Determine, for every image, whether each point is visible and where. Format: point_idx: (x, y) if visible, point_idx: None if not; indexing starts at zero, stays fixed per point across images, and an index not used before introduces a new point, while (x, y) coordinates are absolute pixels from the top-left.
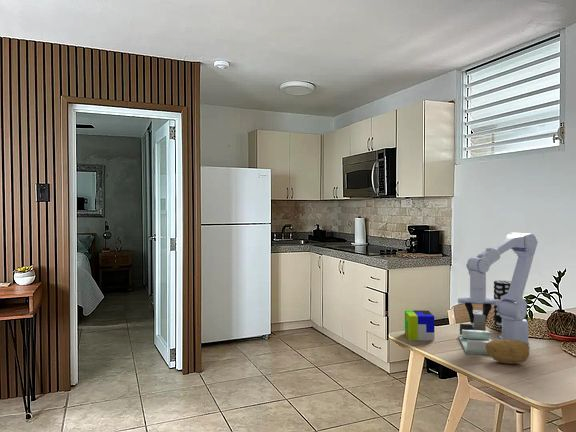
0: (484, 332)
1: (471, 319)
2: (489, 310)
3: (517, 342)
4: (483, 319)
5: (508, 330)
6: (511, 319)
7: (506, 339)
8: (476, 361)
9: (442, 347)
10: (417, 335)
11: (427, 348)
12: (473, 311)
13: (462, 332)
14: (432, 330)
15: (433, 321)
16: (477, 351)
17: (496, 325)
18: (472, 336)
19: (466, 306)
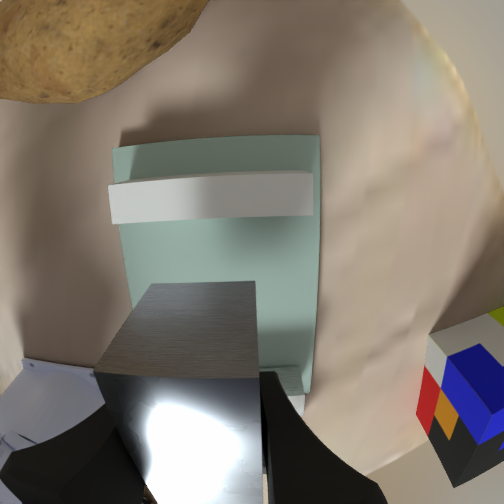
0: None
1: (276, 389)
2: (42, 445)
3: (6, 8)
4: (137, 338)
5: (62, 409)
6: (25, 443)
7: (40, 31)
8: (270, 16)
9: (422, 228)
10: (501, 322)
11: (483, 198)
12: (243, 492)
13: (303, 391)
14: (460, 359)
15: (481, 391)
16: (246, 137)
17: (145, 501)
18: None
19: (386, 501)
